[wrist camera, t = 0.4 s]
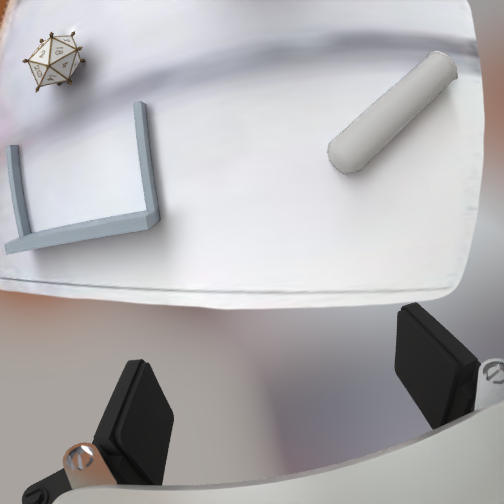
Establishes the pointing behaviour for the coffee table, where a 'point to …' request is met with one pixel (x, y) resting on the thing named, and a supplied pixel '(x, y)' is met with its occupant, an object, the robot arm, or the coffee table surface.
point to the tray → (93, 227)
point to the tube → (391, 113)
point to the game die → (54, 60)
